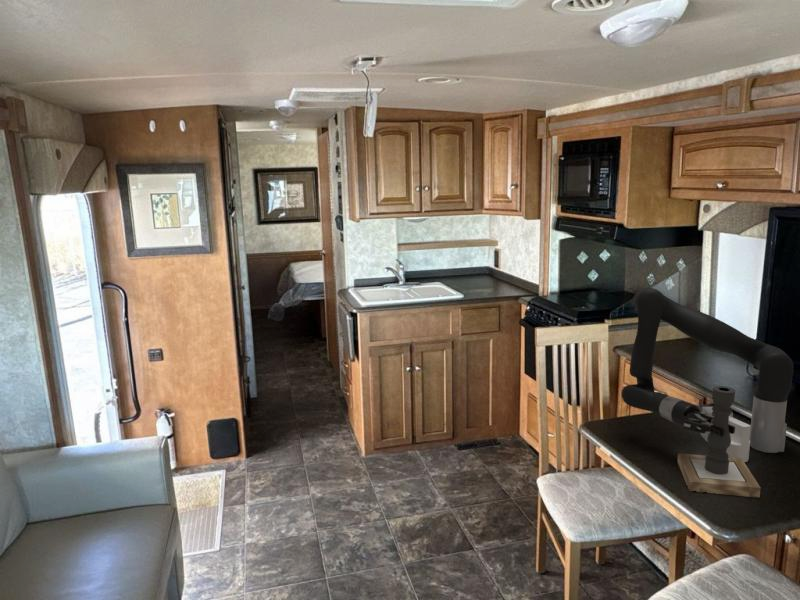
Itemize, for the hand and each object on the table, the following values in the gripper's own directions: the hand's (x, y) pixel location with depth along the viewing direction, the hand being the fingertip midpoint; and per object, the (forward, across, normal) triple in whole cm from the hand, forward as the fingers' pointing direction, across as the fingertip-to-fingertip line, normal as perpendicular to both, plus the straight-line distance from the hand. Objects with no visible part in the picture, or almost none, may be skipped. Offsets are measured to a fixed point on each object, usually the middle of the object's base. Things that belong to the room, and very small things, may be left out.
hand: (728, 431), depth 174 cm
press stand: (-3, 0, +16) cm, 16 cm away
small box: (-21, +24, +16) cm, 36 cm away
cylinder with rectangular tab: (-10, +17, +16) cm, 26 cm away
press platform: (-3, 0, +15) cm, 16 cm away
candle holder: (-3, 0, +13) cm, 13 cm away
